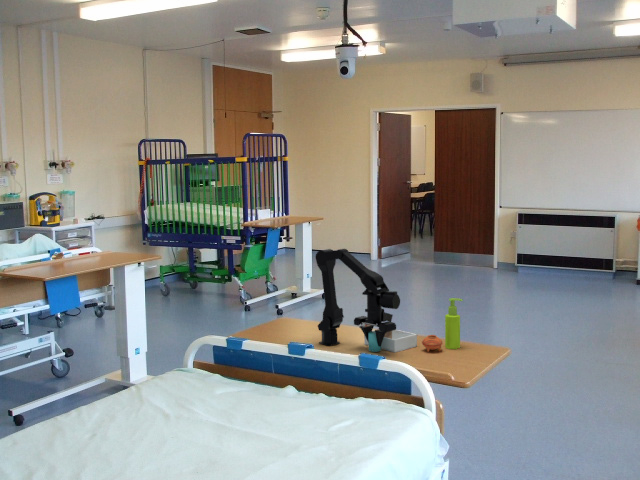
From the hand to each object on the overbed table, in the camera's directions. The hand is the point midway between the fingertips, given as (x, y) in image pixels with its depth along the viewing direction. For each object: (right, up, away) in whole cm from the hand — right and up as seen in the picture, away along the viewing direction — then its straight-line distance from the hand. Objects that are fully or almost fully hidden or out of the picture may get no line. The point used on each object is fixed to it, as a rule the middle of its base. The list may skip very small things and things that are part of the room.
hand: (374, 344), depth 257 cm
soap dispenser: (+32, -2, +4) cm, 33 cm away
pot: (+23, -2, 0) cm, 23 cm away
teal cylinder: (0, -2, 0) cm, 2 cm away
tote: (+7, -2, +9) cm, 11 cm away
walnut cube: (+5, -1, +12) cm, 13 cm away
